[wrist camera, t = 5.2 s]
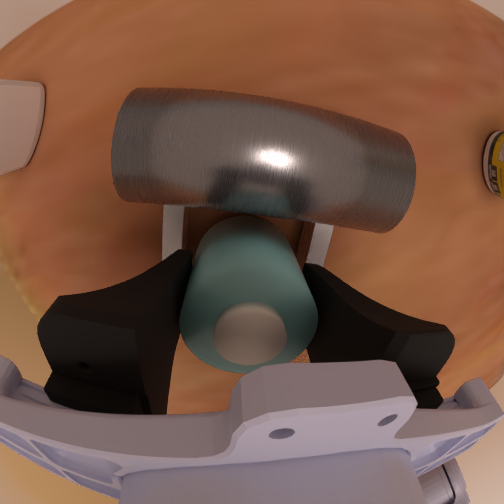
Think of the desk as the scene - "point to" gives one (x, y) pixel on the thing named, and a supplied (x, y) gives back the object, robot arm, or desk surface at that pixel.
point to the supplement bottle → (495, 163)
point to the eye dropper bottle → (19, 122)
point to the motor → (259, 164)
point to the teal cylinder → (246, 298)
